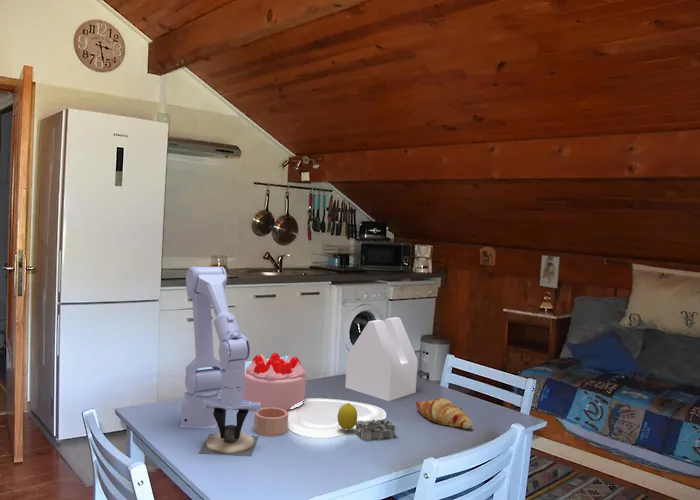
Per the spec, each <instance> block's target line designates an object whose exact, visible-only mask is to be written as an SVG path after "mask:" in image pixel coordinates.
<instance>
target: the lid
mask: <svg viewBox="0 0 700 500" xmlns="http://www.w3.org/2000/svg"><path fill="white" fill-rule="evenodd" d="M236 429H237V425H235V424H228V425H225V427H224V438H223V439H222V438H221V437H220V432H217V433H213V434H214V435H211V436H210V437H206V439H205V441H206V447H207V449H209V450H210V451H213V452H216V453H221V454H236V453H241V452H245V451H247V450H249V449H251V448H252V447H253V445H254V439H253V438H252V437H251V436H252V435H249V434H247V433H244V432H240V437H239V439H236Z"/></svg>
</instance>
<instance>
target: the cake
mask: <svg viewBox="0 0 700 500" xmlns="http://www.w3.org/2000/svg"><path fill="white" fill-rule="evenodd" d="M306 375H307V373H306V371H305V369H304V368H303V367H302V364H301V362H300V359H299V357H297V356H293V357H292V356H291V354H290V353H289V354H288V357H287V359H283V358H282V357H281V356H280V354H279V353H278V352H274V353H272V354H271V355H270V357H269V358H268V360H267V358H266V357H265V356H264V355H263V353H262V352H260V354H256V355H255V356H254V357H253V359H252V361H251V363H250V364H248V366H247V367H245V376H244V396H243V400H246V401H252V402H259V403H261V408H268V407H272V408H280V409H284V410H286V411H287V412H288V411H290V410H289V409H290V408H291V407H292V406H294V405H295V404H297V403H299V402H301V401H303V400H304V401H305V400H306V399H305V398H306V397H305V396H306V382H307V381H306V378H307V377H306Z"/></svg>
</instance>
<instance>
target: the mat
mask: <svg viewBox="0 0 700 500" xmlns="http://www.w3.org/2000/svg"><path fill="white" fill-rule="evenodd" d="M214 434H215V433H209V435H208V437H210V436H211V435H214ZM250 436H251V437H252V438H253V439H254V445H253V447H252V448H251V449H249V450H247V451H245V452H241V453H236V454H221V453H216V452H213V451H210V450H209V449H207V447H206V440H205V442H204V443H203V445H202V446H201V447H200V450H199V451H198V453H197V454H199V455H217V456H218V455H219V456H236V457H237V456H238V457H252V455H253V453H254V451H255V448H256V445H257V443H258V440H259V435H250ZM208 437H207V438H208Z"/></svg>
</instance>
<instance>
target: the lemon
mask: <svg viewBox="0 0 700 500" xmlns="http://www.w3.org/2000/svg"><path fill="white" fill-rule="evenodd" d="M337 412H338V413H337V422H338V426H339V427H340V428H342V427H343V428H345V429H347V430H348V431H349V430H351V429H353V428H354V427H356V425H355V424H356V422H357V421H358V412H357V408H356V407H355V406H354V405H353V404H351V403H350V402H347V403H344V404H343V405H342V406H340V407H339V409H338V411H337ZM343 428H342V429H343ZM345 429H344V430H345Z"/></svg>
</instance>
